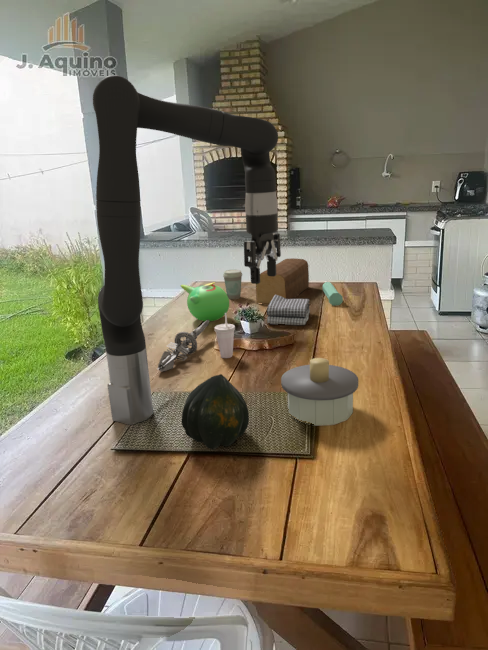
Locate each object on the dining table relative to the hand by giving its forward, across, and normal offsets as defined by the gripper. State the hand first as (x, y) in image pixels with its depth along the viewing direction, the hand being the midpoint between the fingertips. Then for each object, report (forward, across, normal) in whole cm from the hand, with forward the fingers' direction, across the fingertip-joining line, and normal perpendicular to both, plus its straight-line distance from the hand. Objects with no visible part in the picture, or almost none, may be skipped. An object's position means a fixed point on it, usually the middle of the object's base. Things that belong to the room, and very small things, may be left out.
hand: (264, 279), depth 125 cm
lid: (+23, -4, -16) cm, 28 cm away
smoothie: (+30, +18, +24) cm, 43 cm away
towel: (+31, +61, +22) cm, 72 cm away
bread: (+30, +92, +40) cm, 105 cm away
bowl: (+30, -4, -16) cm, 34 cm away
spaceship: (+30, +14, +37) cm, 50 cm away
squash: (+30, -26, 0) cm, 40 cm away
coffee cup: (+30, +81, +59) cm, 105 cm away
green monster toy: (+30, +48, +51) cm, 76 cm away
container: (+31, +95, +18) cm, 102 cm away
